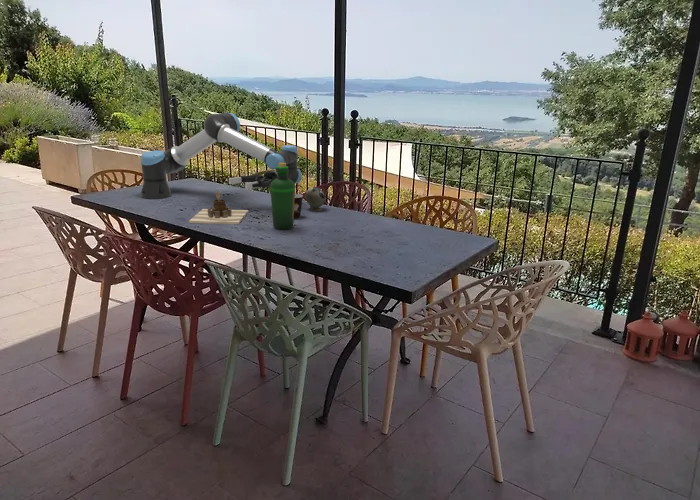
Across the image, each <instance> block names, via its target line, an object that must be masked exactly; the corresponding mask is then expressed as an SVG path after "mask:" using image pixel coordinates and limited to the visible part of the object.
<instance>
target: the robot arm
mask: <svg viewBox="0 0 700 500" xmlns="http://www.w3.org/2000/svg"><path fill="white" fill-rule="evenodd" d="M203 122H204V123H203V129H202V130H201V131H199V132H197V133H196V134H195V135H193V136H192V137H190V138H188V139H187V140H186V141H185V142H183V143H181V144H180V145H179V146H178V145H174V146H172V147H170V148H169V149H167V150H166V151H163V150H149V151H145V152H143V153H142V154H141V158H140V164H141V172H142V179H143V183H142V188H141V191H140V195H141V196H142V197H141V196H140V197H141V198H142V199H143V198H144V199H151V200H154V199H156V200H157V199H165V198H170V197H171V196H172V190H171V188H170V186H169V184H168V182H167V181H168V180H167V174H168V175H169V174H173V173H178V172H180V171H182V170H184V169H185V168H186V166H187V165H188V164H189V160H190V159H193V157H195V156H196V155H198V154H200V153H201V152H202V151H204V150H206V149H207V148H209V147H211V145H213V144H215V143H216V142H218V143H225V144H227V145H230V146H232V147H233V148H235V149H237V150H239V151H240V152H243V153H244V154H247V155H249V156H251V157H253V158H255V159H257V160H259V161H261V162H263V163H264V164H266V166H267V167H268V168H269V169H270V170H272V171H266V172H265V173H264V175H239V176H238V177H230V178H229V177H228V183H229V185H235V184H243V183H244V189H245V190H252V189H258V188H259V189H261V188H262V189H266V188H270V184H271V182H272V181H273V180H275V179H276V178H278V175H277V172H276V168H277V166H279V164H278V163H286V166H288V169H289V172H288V175H287V178H289V179H290V180H292V181H293V182H294V184H295V185H296V184H298V183H300V182H301V181H302V178H303V175H302V171H301V170H300V169H298V147H297V146H296V145H293V144H292V145H290V144H289V145H288V144H286V145H283V146H282V147H281V151H278V150H275V149H273V148H272V147H269V146H267V145H266V144H263V143H261V142H259V141H257V140H255V139H253V138H251V137H250V136H247V135H245V134H243V133H241V132H240V129H241V122H240V119H239V117H238V116H237V115H236V114H234V113H233V112H232V113H231V112H224V113H212V114H210V115H207V117H206V118H205V119H204V121H203ZM273 170H274V171H273Z"/></svg>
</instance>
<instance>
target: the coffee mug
mask: <svg viewBox="0 0 700 500" xmlns="http://www.w3.org/2000/svg"><path fill="white" fill-rule="evenodd" d="M303 197H304V196H303V194H300V193H295V200H294V219H299V217H300V218H301V214H302V205H303Z"/></svg>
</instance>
